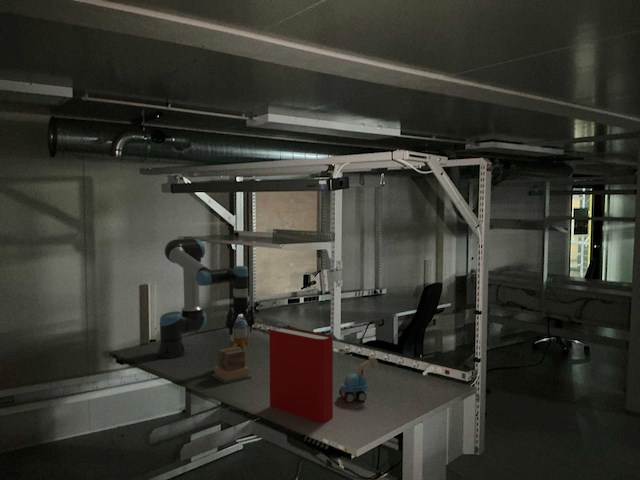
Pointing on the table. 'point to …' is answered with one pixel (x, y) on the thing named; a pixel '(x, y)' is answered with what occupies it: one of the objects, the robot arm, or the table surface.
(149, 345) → the table surface
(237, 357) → the walnut brick
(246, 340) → the toy rocket
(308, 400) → the book
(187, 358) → the table surface
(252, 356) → the table surface
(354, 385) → the toy excavator
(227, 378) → the build base
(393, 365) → the table surface
